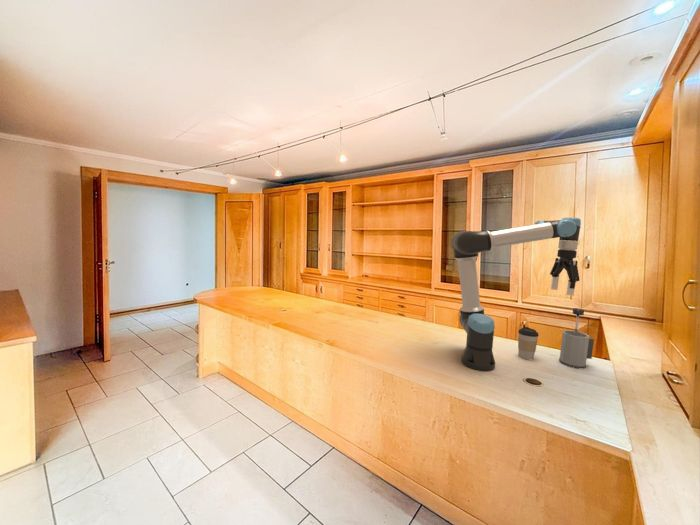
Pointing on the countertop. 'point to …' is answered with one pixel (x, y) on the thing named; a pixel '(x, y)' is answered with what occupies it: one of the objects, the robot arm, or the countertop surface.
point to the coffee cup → (527, 342)
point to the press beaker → (575, 349)
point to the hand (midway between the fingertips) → (561, 292)
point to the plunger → (577, 317)
